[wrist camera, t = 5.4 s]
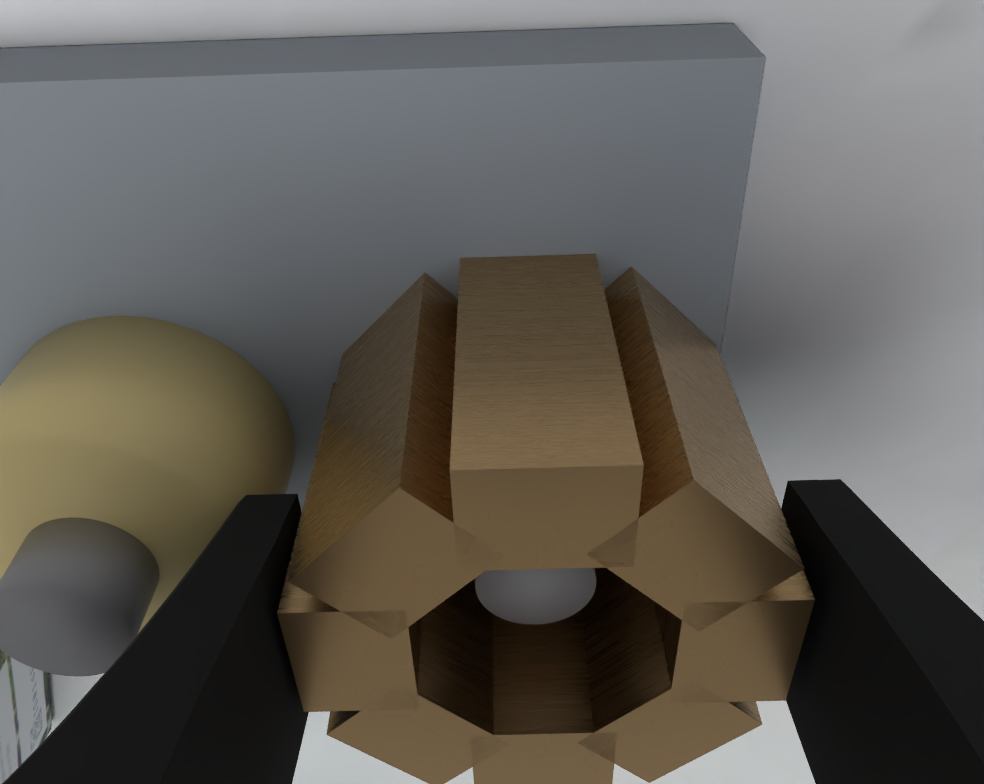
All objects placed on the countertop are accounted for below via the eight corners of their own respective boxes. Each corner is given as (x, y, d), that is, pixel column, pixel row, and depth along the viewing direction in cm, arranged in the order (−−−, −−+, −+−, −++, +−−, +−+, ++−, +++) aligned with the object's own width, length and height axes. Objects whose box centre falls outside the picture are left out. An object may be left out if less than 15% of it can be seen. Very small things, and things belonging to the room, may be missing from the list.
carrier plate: (733, 23, 11) (886, 185, 7) (662, 575, 16) (720, 839, 12) (-74, 51, 11) (-412, 226, 7) (144, 589, 17) (35, 853, 13)
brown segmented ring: (744, 249, 11) (856, 459, 7) (696, 550, 14) (760, 787, 11) (312, 262, 11) (239, 476, 8) (363, 559, 14) (327, 798, 11)
